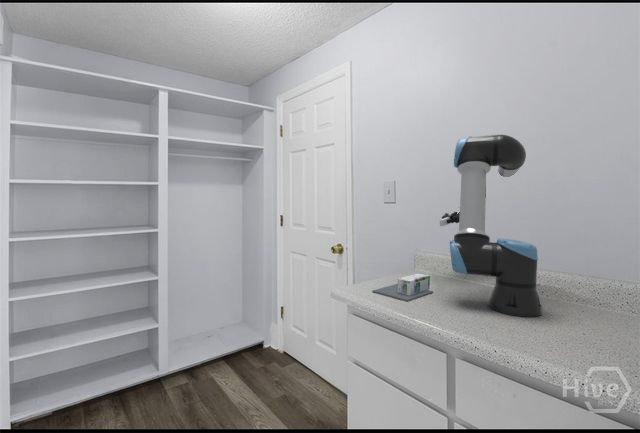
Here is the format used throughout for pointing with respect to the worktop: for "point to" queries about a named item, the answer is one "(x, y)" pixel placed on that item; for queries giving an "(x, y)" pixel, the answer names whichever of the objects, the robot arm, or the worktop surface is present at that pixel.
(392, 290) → the mat
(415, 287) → the syrup box
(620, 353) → the worktop surface
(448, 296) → the worktop surface
